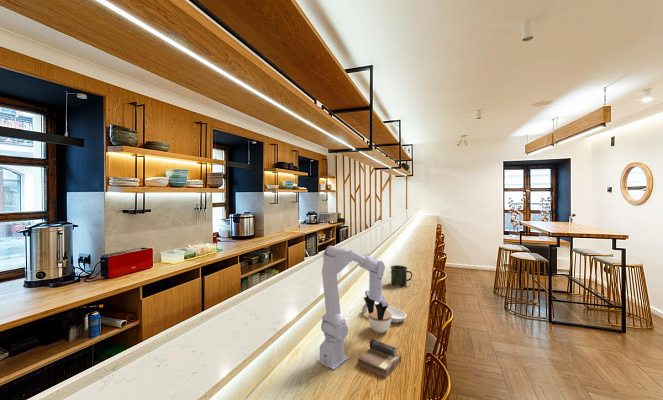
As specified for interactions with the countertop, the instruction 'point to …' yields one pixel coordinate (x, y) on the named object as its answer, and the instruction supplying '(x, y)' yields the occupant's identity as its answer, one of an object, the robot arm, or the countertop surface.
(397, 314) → the spoon rest
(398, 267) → the mug
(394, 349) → the folding leg
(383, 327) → the lidded jar
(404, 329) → the countertop surface
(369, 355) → the stool seat
